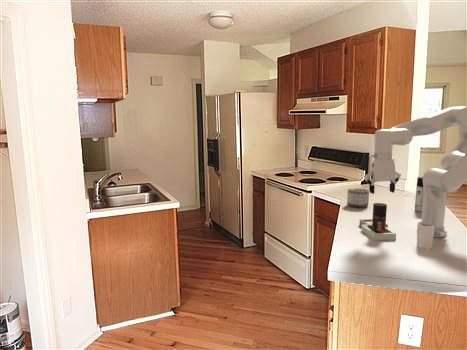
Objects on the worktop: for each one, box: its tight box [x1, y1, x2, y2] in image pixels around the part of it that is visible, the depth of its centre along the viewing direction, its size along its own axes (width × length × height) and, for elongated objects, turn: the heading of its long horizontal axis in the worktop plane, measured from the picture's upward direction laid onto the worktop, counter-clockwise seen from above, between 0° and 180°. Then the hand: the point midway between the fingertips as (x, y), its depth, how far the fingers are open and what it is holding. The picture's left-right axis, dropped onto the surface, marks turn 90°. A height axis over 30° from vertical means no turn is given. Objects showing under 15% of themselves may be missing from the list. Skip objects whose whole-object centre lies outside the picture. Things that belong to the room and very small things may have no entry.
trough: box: [361, 225, 397, 241], centre depth 167 cm, size 14×10×3 cm
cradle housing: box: [358, 218, 389, 229], centre depth 178 cm, size 10×10×3 cm
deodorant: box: [372, 202, 388, 233], centre depth 167 cm, size 6×6×15 cm
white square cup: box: [416, 221, 435, 249], centre depth 152 cm, size 7×7×10 cm
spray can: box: [414, 176, 424, 213], centre depth 209 cm, size 7×7×20 cm
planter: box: [346, 187, 370, 209], centre depth 222 cm, size 13×13×10 cm
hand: (382, 192), depth 164 cm, fingers open, 9 cm apart
